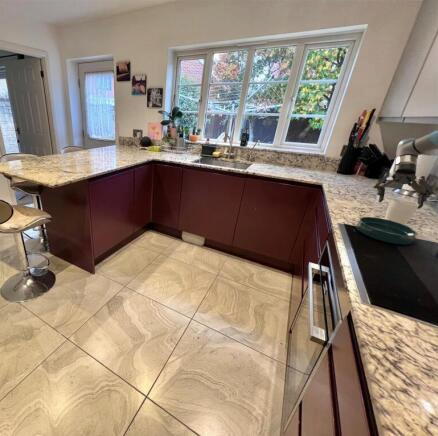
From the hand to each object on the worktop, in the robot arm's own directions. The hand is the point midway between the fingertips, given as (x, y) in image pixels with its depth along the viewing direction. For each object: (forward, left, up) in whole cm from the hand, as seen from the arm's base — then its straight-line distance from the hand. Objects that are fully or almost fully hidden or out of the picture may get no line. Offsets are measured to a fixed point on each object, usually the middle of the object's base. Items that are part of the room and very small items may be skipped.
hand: (399, 204), depth 109 cm
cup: (-2, +3, -10) cm, 11 cm away
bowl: (-4, +21, -10) cm, 24 cm away
